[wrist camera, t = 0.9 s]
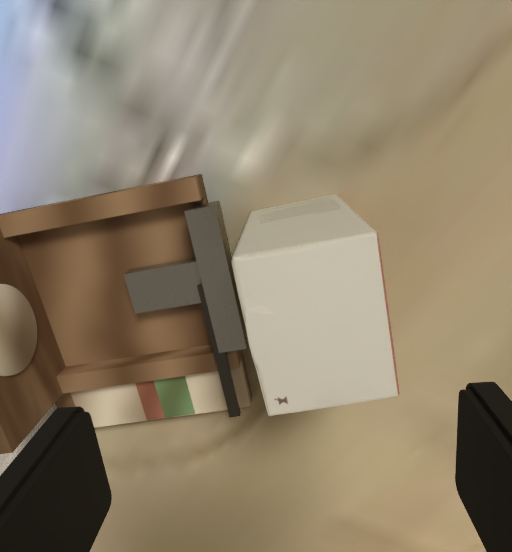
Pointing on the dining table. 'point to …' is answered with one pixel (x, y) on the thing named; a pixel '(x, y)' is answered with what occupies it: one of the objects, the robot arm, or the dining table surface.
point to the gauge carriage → (199, 289)
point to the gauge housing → (102, 314)
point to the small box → (315, 306)
